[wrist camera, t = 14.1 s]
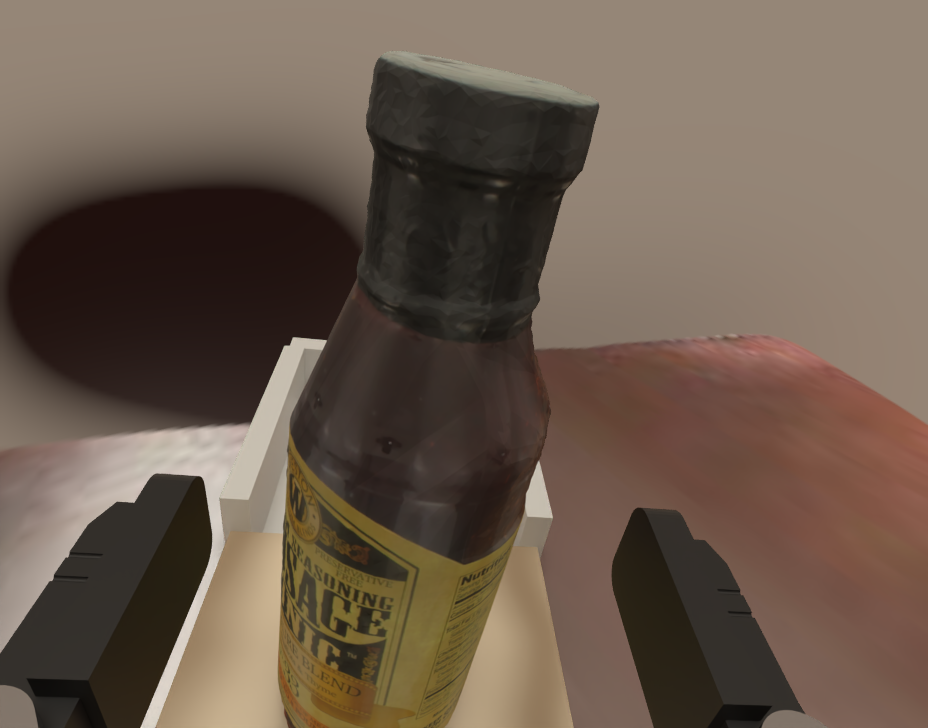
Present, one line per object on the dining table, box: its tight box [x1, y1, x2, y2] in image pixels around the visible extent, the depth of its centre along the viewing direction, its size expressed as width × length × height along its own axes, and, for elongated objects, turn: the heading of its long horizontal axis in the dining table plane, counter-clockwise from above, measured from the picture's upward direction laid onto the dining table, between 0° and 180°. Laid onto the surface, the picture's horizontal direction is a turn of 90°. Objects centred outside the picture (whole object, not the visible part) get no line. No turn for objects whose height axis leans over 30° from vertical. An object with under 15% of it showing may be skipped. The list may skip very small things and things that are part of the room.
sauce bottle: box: [278, 51, 599, 728], centre depth 15 cm, size 7×6×20 cm
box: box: [219, 338, 553, 558], centre depth 32 cm, size 15×14×4 cm
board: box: [155, 531, 573, 728], centre depth 21 cm, size 14×12×2 cm
